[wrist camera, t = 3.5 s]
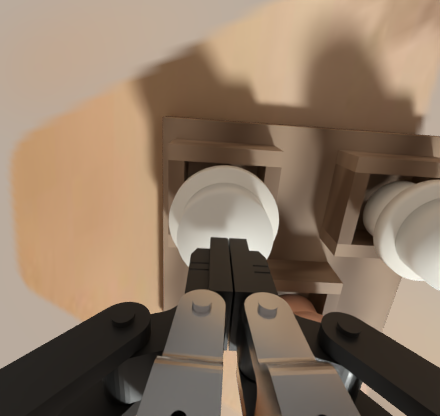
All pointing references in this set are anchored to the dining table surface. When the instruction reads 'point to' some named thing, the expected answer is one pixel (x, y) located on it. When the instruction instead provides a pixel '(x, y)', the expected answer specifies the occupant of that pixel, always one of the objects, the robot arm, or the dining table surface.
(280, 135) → the mount block
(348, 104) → the dining table surface
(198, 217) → the knob
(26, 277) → the dining table surface
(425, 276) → the knob
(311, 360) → the robot arm
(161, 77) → the dining table surface
